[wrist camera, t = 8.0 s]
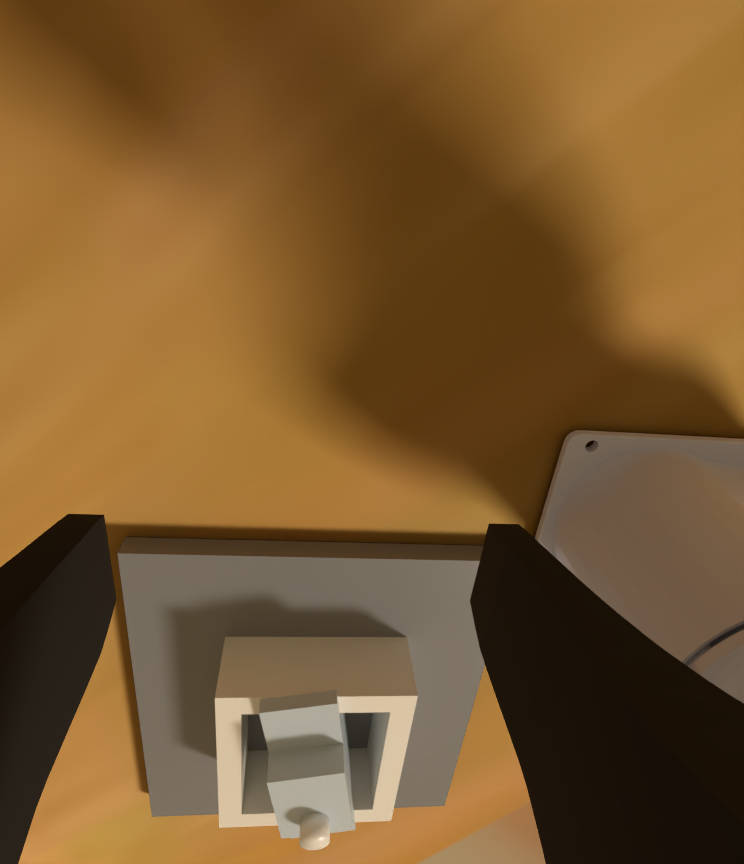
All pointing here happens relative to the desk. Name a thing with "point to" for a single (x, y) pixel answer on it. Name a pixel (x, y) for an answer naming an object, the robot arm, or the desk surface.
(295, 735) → the block
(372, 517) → the desk surface
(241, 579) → the pocket plate
